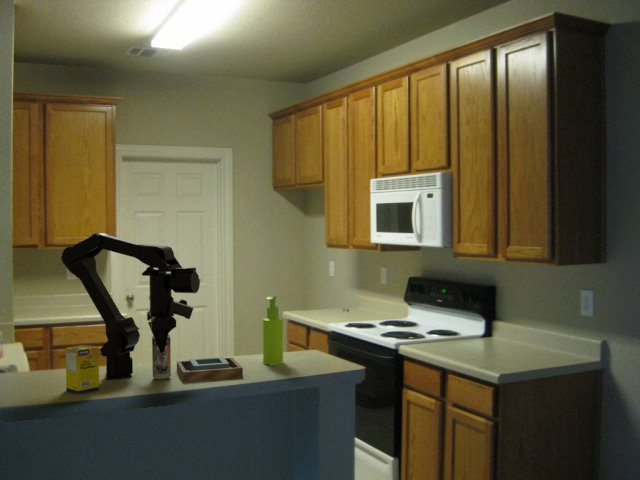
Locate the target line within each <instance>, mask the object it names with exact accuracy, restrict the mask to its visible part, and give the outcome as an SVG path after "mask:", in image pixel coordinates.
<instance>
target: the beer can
mask: <svg viewBox="0 0 640 480" xmlns="http://www.w3.org/2000/svg"><path fill="white" fill-rule="evenodd" d="M169 333H170V332H169ZM169 333H168V337H167V342H166V346H165V351H164V352H160V350H159V348H158V345H157V343H156V340H155V338H154V335H153V334H152V337H151V348H152V351H151V354H152V355H151V359H152V361H151V362H152V368H151V369H152V378H153V379H154V380H159V381H161V380H163V381H164V380H168V379H169V378H171V376H172V362H171V361H172V360H171V359H172V358H171V352H172V351H171V350H172V349H171V348H172V347H171V336H170V334H169Z"/></svg>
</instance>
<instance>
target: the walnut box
mask: <svg viewBox="0 0 640 480" xmlns="http://www.w3.org/2000/svg"><path fill="white" fill-rule="evenodd" d="M224 358H225V360H226V361H227V362H228V363H229V368H223V369H210V370H196V371H190V370H189V360H176V372H177V373H178V375H179V377H180V379H181V380H182V382H183V383H184V382H195V381H197V382H198V381H207V380H208V381H209V380H211V381H212V380H220V379H222V380H223V379H232V378H233V379H234V378H243V377H244V373H243V372H244V369H243V366H241V364H240V363H238V361H236V360H235V359H234V357H231V356H230V357H224Z"/></svg>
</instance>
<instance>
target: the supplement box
mask: <svg viewBox="0 0 640 480" xmlns="http://www.w3.org/2000/svg"><path fill="white" fill-rule="evenodd" d="M99 359H100V358H99V347H98V346H93V345H90V344H82V345H75V346H68V347H65V375H66V376H65V380H66V383H65V386H66V387H65V389H66V391H68V392H71V393H75V394H76V395H79V394H80V395H81V394H84V393H90V392H95V391H99V390H100V372H99V371H100V370H99V369H100V368H99V366H100V364H99Z"/></svg>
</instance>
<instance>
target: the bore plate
mask: <svg viewBox="0 0 640 480" xmlns="http://www.w3.org/2000/svg"><path fill="white" fill-rule="evenodd" d="M225 358H226V357H224V356H217V357H216V356H213V357H201V358H189V370H190V371H196V370H210V369H223V368H229V363H228V362H227V361H226V360H225Z"/></svg>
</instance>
